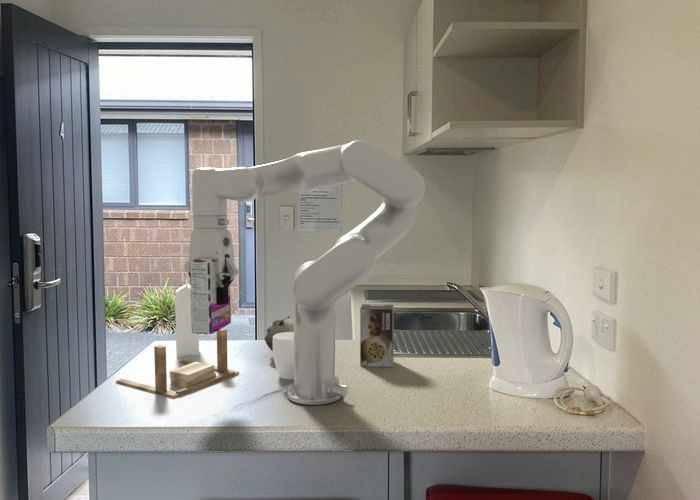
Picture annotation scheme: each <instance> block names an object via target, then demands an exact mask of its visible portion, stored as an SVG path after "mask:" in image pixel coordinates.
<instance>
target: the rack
mask: <svg viewBox="0 0 700 500" xmlns="http://www.w3.org/2000/svg"><path fill="white" fill-rule="evenodd" d="M166 348H167V347H166V345H161V344H159V345H155V346H154V347H153V349H154V351H153V353H154V382H155V383H154V385H155V386H151V385H146V384H143V383H140V382H139V383H138V382H135V381H132V380H129V379H125V378H119V379H116V380H115V383H116V384H119V385H123V386H127V387H129V388H135V389H137V390H138V389H139V390H140V391H144V392H148V393H152V394H157V395H160V396H164V397H168V398H170V399H176V398H178V397H181V396H184V395H187V394H191V393H192V392H195V391H198V390H200V389H203V388H206V387H208V386H211V385H214V384H217V383H220V382H222V381H224V380H227V379H230V378H233V377H236V376H238V375H240V371H238V370H233V369H230V368H228V329H227V328H226V329H225V328H221V329H220V330H218V331H216V358H217V360H216V361H217V362H216V364H217V366H215V365H214V372H216V373H222V374H220V375H216V377H213V378H211V379H208V380H205V381H202V382H200V383H197V384H194V385H191V386H189V387H186V388H180V389H178V390H176V391H175V392H174V391H169V390H168V385H167V384H168V383H167V382H168V381H167V380H168V379H167V349H166ZM193 362H194V360H188V359H180V360H178V363H179V364H183V365H188V364H191V363H193Z"/></svg>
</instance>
